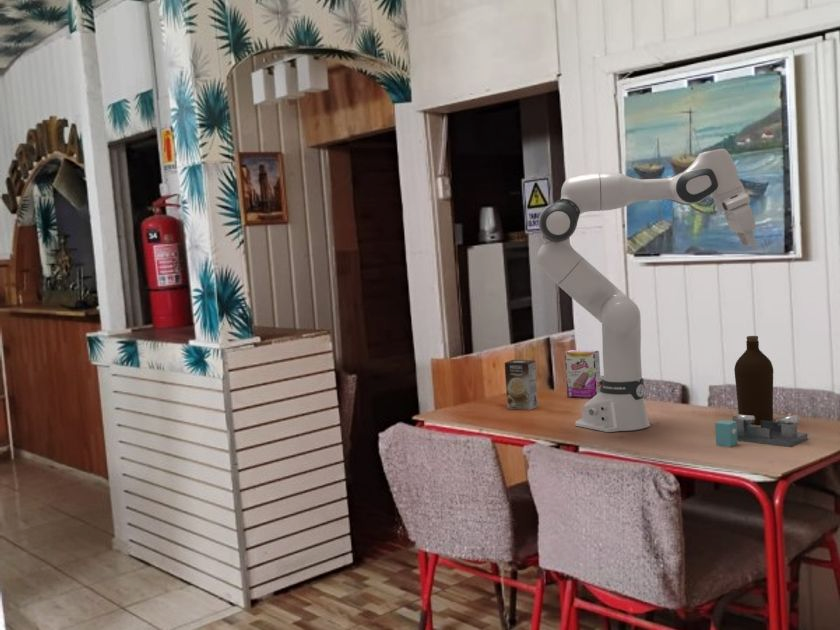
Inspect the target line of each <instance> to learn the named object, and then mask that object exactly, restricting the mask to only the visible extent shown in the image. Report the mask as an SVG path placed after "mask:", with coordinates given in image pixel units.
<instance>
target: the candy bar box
mask: <svg viewBox="0 0 840 630" xmlns="http://www.w3.org/2000/svg"><path fill="white" fill-rule="evenodd" d="M564 357H565V358H564V359H565V376H566V377H565V379H566V393H567V395H566V396H567V398H570V399H571V398H575V399H577V398H578V399H579V398H581V399H592V398H593V397H594V396H595V395H596V394H598V393H599V392H600V387H601V386H597V385H598V384H599V383H598V382H601V381H602V380H601V379H602V378H601V366H600V365H601V364H600V362H601V361H600V350H591V349H590V350H584V349H583V350H581V349H570V350H567V351H564ZM597 383H598V384H597Z"/></svg>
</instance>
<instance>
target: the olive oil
mask: <svg viewBox="0 0 840 630" xmlns="http://www.w3.org/2000/svg"><path fill="white" fill-rule="evenodd" d="M745 343H746V349H745V351H744V352H743V353H742V354H741V355H740V356H739V358H738V359H737V360H736V361H735V364H734V370H733V371H734V378H735V389H736V391H735V392H736V400H737V413H738V414H741V415H751V416H754V417H755V422H754V423H751V426H761V420H766V421H774V367H773V363H772V361H771V360H770V358H769V357H768V356H767V355H765V353H763V352H762V351H761V349H760V346H759V344H760V342H759V336H758V335H748V336H746V341H745Z"/></svg>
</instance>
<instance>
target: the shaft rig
mask: <svg viewBox="0 0 840 630" xmlns="http://www.w3.org/2000/svg"><path fill="white" fill-rule="evenodd" d="M732 421H735V422H737V441H739V442H746V443H756V444H764V445H771V446H780V447H789V448H790V447H792V446H796V445H797V444H799V443H801V442H804V441H806V440H808V433H807V432H801V431H800V432H798V423H800V416H799V415H798V414H793V415H789V416H782V417H777V418H776V419H775V421H774V420H773V421H766V420H761V425H760V426H756V425H751V423H754V422H755V417H754V416H751V415H741V414H737V413H733V414H732Z"/></svg>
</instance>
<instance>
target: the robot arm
mask: <svg viewBox="0 0 840 630" xmlns="http://www.w3.org/2000/svg"><path fill="white" fill-rule="evenodd" d="M710 195H711V197H712V200H713V202H714V204H715V206H716V209H717V210H718V213H722V212H723V214H724V215H723V216H724V217H725V220H726V223H727V225H728V229H729V230H730V232H731V233H735V234H736V236H737V238H738V239H739V241H740V243H741V246H744V247H745V246H749V247H750V248H752V247H755V246H756V245H757V243H756V240H755V235H754V232H753V231H754V230H756V229H757V228H756V227H757V226H756V221H755V217H754V214H753V211H752V208H751V205H750V204H749V203H750V202H751V200H750V197H749V194H747V192H746V189H745V187H744V185H743V183H742V182H741V180H740V178H739V174H738V169H737V167H736V164H735V162H734V160H733V158H732V155H731V154H730V153H729V152H728V150H727V149H726V148H723V147H714V148H710V149H706V150H703V151H700V152H699V153H698V155H697V157H696V158H695V160H694V161H693V162H692V163H691V164H690V165H689V166H688V167H687V168H686V169H685V170H684V171H681V172H678V173H677V174H675V175H673V176H670V177H666V178H651V179H649V178H647V179H646V178H645V179H639V178H634V177H630V176H628V175H626V174H624V173H618V172H617V173H616V172H594V173H586V174H580V175H575V176H572V177H569V178H567V179H565V181H564V182H563V184H562V186H561V191H560V199H559V200H556V201H555V202H554V203H551V204H549V205H546V206H545V208H543V209H542V211H541V212H540V214H539V216H538V228H539V230H540V232H541V234H542V237H543V240H544V241H543V244H541V246H540V247H539V248H538V251H537V253H536V262H537V264H538V265H539V267H540V268H541V269H542V270H543V272H544V273H545V274H546V275H547V276H548V278H550V280H551V281H553V282H554V283H555V284H556V285H557V286H558V287H559V288H560V289H561V290H563V291H564V292H565V293H566V294H567V295H568V296H569V297H570V298H572V300H574V301H575V302H576V303H577V304H578V305H580V306H581V307H582V308H584V309H585V311H586V312H588V313H589V314H590V315H592V316H593V317H594V318H595V319H596V320H598V321H599V322H600V323H601V333H602V334H601V335H602V336H601V337H602V339H601V340H602V365H603V366H602V367H603V370H602V371H603V379H602V380H601V382H598V383H599V384H598V383H597V384H598V385H597V386H601V387H600V392H599V393H598V394H596V395H595V396H594V397H593V398H590V400H588V401H586V403H585V404H584V405H583V409H582V418H580V419H577V420H576V421H575V427H576V426H577V427H581V428H585V429H590V430H594V431H595V430H596V431H600V432H605V433H612V432H613V433H614V432H629V431H638V430H643V429H646V428H649V427H650V426H651V423H650V420H649V416H648V413H647V410H646V404H645V383H644V378H643V374H642V373H643V371H642V354H641V353H642V352H641V351H642V350H641V349H642V348H641V346H642V345H641V341H642V339H641V337H642V333H641V332H642V328H641V325H642V324H641V321H642V320H641V311H640V308H639V307H638V305H637V304H636V303H635V302H634V301H633V300H632V299H631V298H630V297H629V296H628V295H626V294H625V293H624V292H623V291H622V290H621V289H619V288H618V287H617V286H616V285H615V284H614V283H613V282H612V281H610V280H609V279H608V278H607V277H606V276H605V275H603V274H602V272H600V271H599V270H598V269H597V268H596V267H595V266H593V265H592V264H591V263H590V262H589V261H588V260H587V259H586V258H584V257H583V256H582V255H581V254H580V253H579V252H577V251H576V249H575V248H573V246H572V245H571V243H570V237H572V236H573V234H574V233H575V231H576V229H577V226H578V222H579V218H580V215H581V214H584V213H587V212H600V211H601V212H602V211H612V210H617V209H621V208H625V207H627V206H629V205H631V204H634V203H638V202H645V201H664V200H665V201H666V200H667V201H673V202H674V203H677V204H679V205H683V206H691V205H693V204H697V203H701V202H702V201H703V200H705V199H706V198H707V197H709V196H710Z"/></svg>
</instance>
